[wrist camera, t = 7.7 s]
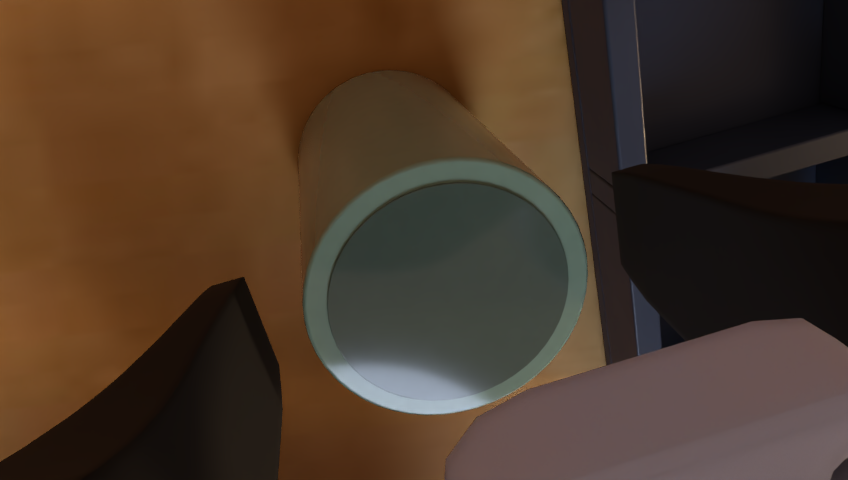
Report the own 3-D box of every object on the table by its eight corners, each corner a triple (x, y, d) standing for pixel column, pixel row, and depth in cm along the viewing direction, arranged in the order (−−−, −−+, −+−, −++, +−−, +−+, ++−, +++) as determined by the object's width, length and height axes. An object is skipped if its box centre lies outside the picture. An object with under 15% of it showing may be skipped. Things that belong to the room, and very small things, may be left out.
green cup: (489, 215, 20) (604, 372, 12) (327, 261, 19) (349, 450, 12) (456, 48, 17) (572, 121, 10) (273, 97, 17) (260, 208, 10)
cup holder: (819, 311, 24) (879, 353, 21) (607, 376, 23) (644, 427, 21) (845, -183, 17) (938, -205, 14) (547, -108, 16) (592, -117, 14)
